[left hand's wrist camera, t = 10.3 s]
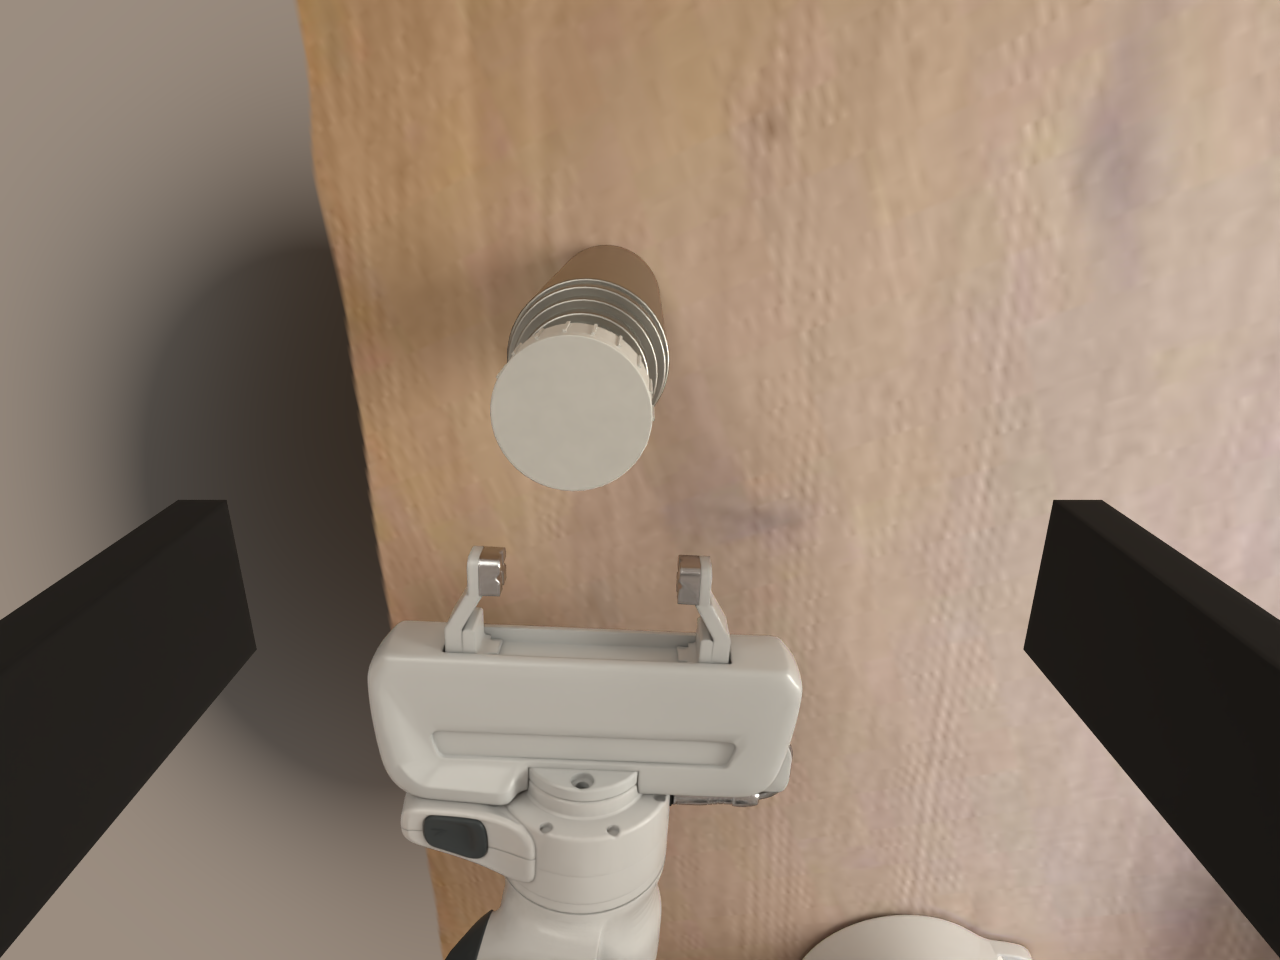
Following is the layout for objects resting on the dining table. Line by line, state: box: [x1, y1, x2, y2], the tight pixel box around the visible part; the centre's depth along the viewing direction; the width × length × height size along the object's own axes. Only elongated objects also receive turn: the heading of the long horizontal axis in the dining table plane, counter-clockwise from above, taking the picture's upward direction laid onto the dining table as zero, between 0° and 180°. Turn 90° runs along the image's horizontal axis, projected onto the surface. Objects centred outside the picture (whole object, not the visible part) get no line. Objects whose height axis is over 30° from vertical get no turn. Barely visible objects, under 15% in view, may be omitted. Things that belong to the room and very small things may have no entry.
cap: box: [490, 321, 654, 491], centre depth 19 cm, size 4×4×2 cm
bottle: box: [507, 245, 669, 406], centre depth 28 cm, size 5×5×20 cm
